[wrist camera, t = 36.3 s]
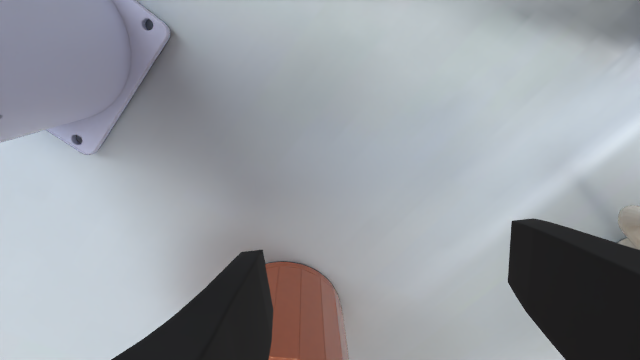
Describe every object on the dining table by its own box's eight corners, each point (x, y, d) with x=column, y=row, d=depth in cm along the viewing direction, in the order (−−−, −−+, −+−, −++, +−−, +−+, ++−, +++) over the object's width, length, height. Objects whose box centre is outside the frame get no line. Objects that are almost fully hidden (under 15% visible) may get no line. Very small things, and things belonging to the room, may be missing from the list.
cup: (202, 321, 24) (157, 436, 16) (271, 238, 22) (254, 327, 15) (293, 374, 25) (289, 500, 18) (364, 301, 23) (390, 408, 16)
